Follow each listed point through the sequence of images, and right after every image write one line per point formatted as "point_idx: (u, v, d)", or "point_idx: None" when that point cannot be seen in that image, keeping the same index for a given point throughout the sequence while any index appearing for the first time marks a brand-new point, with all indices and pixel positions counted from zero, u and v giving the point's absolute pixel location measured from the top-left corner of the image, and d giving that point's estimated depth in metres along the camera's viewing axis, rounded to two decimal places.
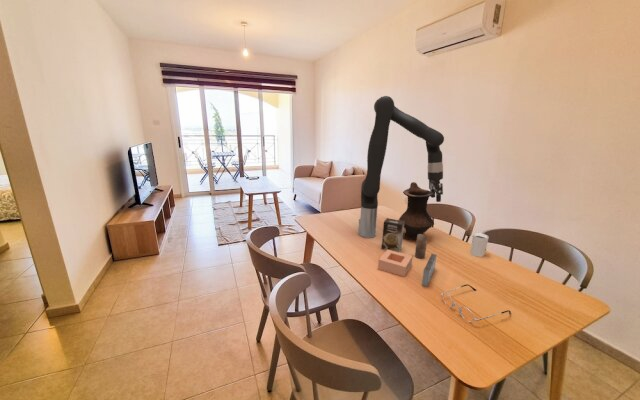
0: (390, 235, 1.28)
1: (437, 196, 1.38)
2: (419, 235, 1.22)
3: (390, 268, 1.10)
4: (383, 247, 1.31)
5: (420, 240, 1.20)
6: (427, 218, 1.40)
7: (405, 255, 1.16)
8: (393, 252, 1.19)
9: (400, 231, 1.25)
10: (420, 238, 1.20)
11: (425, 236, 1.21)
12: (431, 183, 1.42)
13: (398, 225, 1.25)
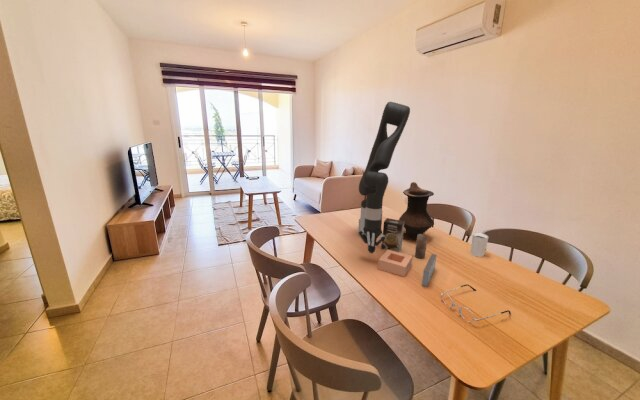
0: (390, 235, 1.28)
1: None
2: (419, 235, 1.22)
3: (390, 268, 1.10)
4: (383, 247, 1.31)
5: (420, 240, 1.20)
6: (427, 218, 1.40)
7: (405, 255, 1.16)
8: (393, 252, 1.19)
9: (400, 231, 1.25)
10: (420, 238, 1.20)
11: (425, 236, 1.21)
12: None
13: (398, 225, 1.25)
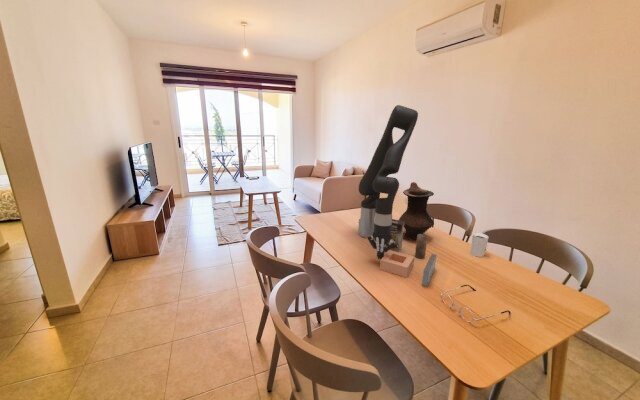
0: None
1: None
2: (419, 235, 1.22)
3: (392, 269, 1.10)
4: None
5: (420, 240, 1.20)
6: (427, 218, 1.40)
7: (407, 255, 1.15)
8: (395, 252, 1.18)
9: (400, 231, 1.25)
10: (420, 238, 1.20)
11: (425, 236, 1.21)
12: None
13: (398, 225, 1.25)
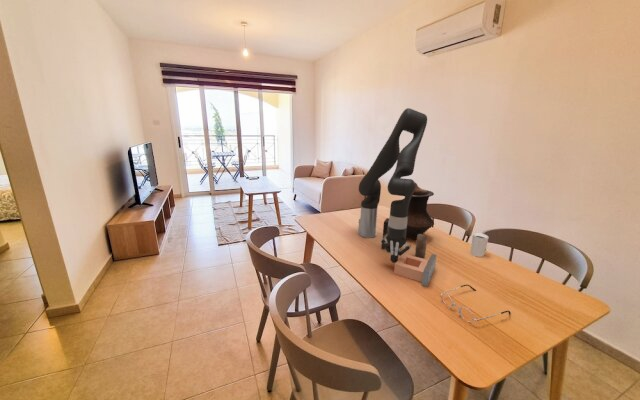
0: None
1: None
2: (419, 235, 1.22)
3: (407, 273, 1.06)
4: (383, 247, 1.31)
5: (420, 240, 1.20)
6: (427, 218, 1.40)
7: (422, 259, 1.12)
8: (409, 256, 1.15)
9: None
10: (420, 238, 1.20)
11: (425, 236, 1.21)
12: None
13: None
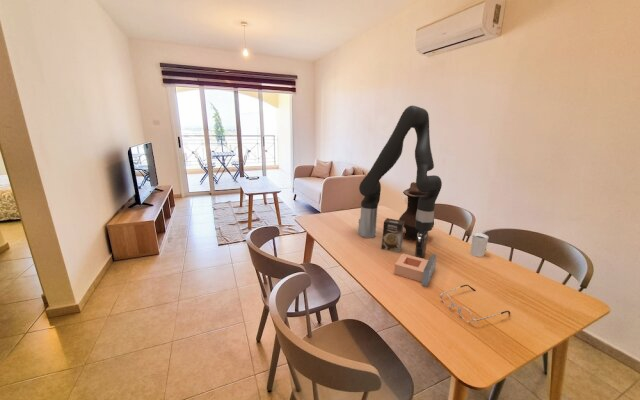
0: (390, 235, 1.28)
1: (417, 248, 1.21)
2: None
3: (407, 273, 1.06)
4: (383, 247, 1.31)
5: None
6: None
7: (422, 259, 1.12)
8: (409, 256, 1.15)
9: (400, 231, 1.25)
10: None
11: None
12: None
13: (398, 225, 1.25)
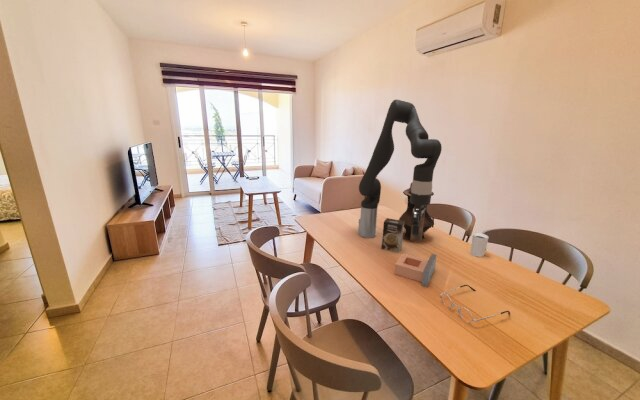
0: (390, 235, 1.28)
1: (413, 227, 1.04)
2: None
3: (407, 273, 1.06)
4: (383, 247, 1.31)
5: None
6: (427, 218, 1.40)
7: (422, 259, 1.12)
8: (409, 256, 1.15)
9: (400, 231, 1.25)
10: None
11: None
12: None
13: (398, 225, 1.25)
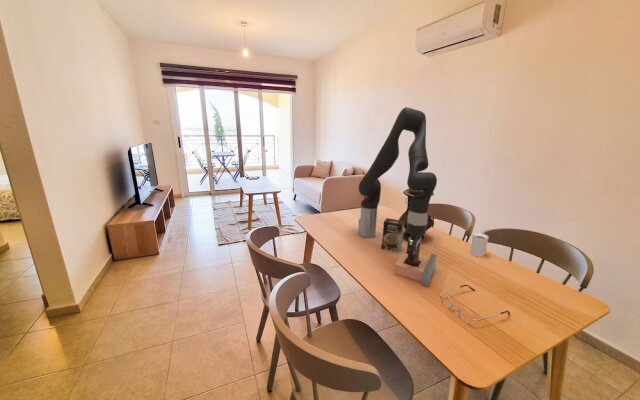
0: (390, 235, 1.28)
1: (408, 255, 1.05)
2: None
3: (407, 273, 1.06)
4: (383, 247, 1.31)
5: None
6: None
7: (422, 259, 1.12)
8: None
9: (400, 231, 1.25)
10: None
11: (418, 244, 1.07)
12: None
13: (398, 225, 1.25)
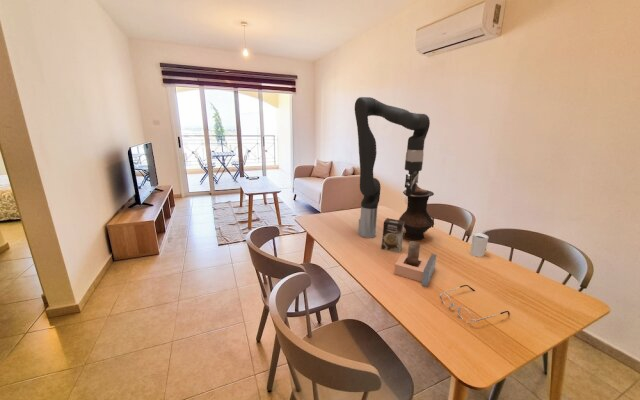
0: (390, 235, 1.28)
1: (406, 189, 1.19)
2: (411, 242, 1.08)
3: (407, 273, 1.06)
4: (383, 247, 1.31)
5: (412, 248, 1.07)
6: (427, 218, 1.40)
7: (422, 259, 1.12)
8: None
9: (400, 231, 1.25)
10: (412, 246, 1.07)
11: (417, 244, 1.07)
12: None
13: (398, 225, 1.25)
